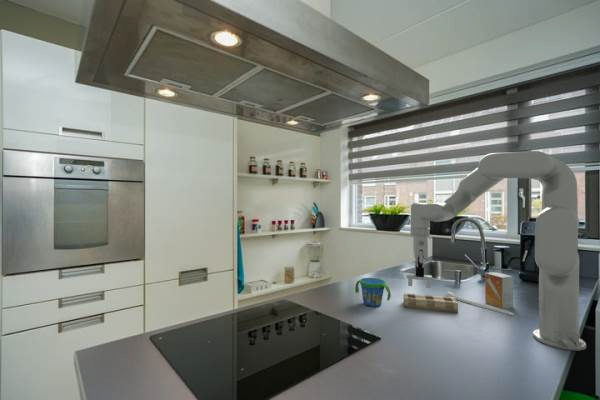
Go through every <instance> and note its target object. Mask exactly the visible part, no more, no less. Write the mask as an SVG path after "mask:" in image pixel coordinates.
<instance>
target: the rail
mask: <svg viewBox="0 0 600 400" xmlns="http://www.w3.org/2000/svg"><path fill="white" fill-rule="evenodd" d="M403 306H404V308H405V309H411V310H412V309H414V310H425V311H432V312H443V311H444V312H445V313H453V312H455V314H458V313H459V303H458V300H456V299H455V298H454V297H445V296H442V295H441V296H440V295H429V294H418V293H417V294H416V293H405V292H403Z"/></svg>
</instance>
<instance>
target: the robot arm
mask: <svg viewBox="0 0 600 400" xmlns="http://www.w3.org/2000/svg"><path fill="white" fill-rule="evenodd" d="M504 179H531V180H535V181H538V182H540V184H541V188H542V189H541V212H539V213H538V215H537V217H536V220H535V227H534V229H535V230H534V260H535V263H536V265H537V267H538V269H539V271H538V272H539V274H538V329H535V330H533V331H532V336H533V337H534V339H535V340H537V341H538V342H541V343H543V344H545V345H547V346H550V347H553V348H557V349H562V350H565V351H566V350H568V351H584V350H586V349H587V343H586V342H585V341H584V340H583V339H582V338H580V255H579V252H578V245H579V244H578V243H579V225H580V220H579V216H578V215H579V211H578V206H579V204H578V203H579V202H578V201H579V200H578V181H577V178H576V175H575V173H574V171H573V170H572V168H570V166H568V165H567V164H566V163H564V162H563V161H561V160H559V159H557V158H554V157H552V156H551V155H549V154H548V153H546V152H544V151H540V150H529V151H528V150H527V151H513V152H512V151H511V152H507V151H506V152H492V153H491V152H490V153H488V154H486V155H484V156H482V157H481V158H480V160H479V162H478V164H477V167H476V168H475V169H474V170H473V171H471V172H470V173H469V174H468V175H466V176H465V177H464V178H463V179H461V180H460V182H459V183H458V187H457V189H456V190H455V192H454V193H452V195H451V196H449V197H448V198H447V199H445V200H444V201H442V202H430V203H427V202H414V203H411V205H410V236H412V240H413V241H412V244H413V246H412V248H413V249H412V250H413V258H414V259H415V262H414V263H415V264H414V266H415V265H416V277H424V275H425V261H428V260H429V251H428V250H429V248H428V246H429V244H428V242H429V240H428V237H430V236H431V233H430V231H431V222H435V223H436V222H437V223H438V222H439V223H440V222H446V221H449V220H452V219H453V218H455V217H456V216H458V215H459V214H461V212H463V211H464V210H465V209H468V207H469V206H470V205H472V204H473V203H474V202H476V200H477V199H478V198H479V197H481V196H482V195H483V194H485V193H486V192H488V191H489V190H490V189H492V188H493V187H494V186H496V185H497V184H498V183H500V182H501V181H503V180H504Z"/></svg>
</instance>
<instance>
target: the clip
mask: <svg viewBox="0 0 600 400" xmlns="http://www.w3.org/2000/svg"><path fill="white" fill-rule="evenodd" d="M405 278H406V280H407V285H408V287H413V280H416V281H417V280H418V281H425V288H427V289H431V282H433V276H432V275H430V274H429V275H427V274H424V277H416V265H415V264H414V273H406V277H405Z"/></svg>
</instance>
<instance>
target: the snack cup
mask: <svg viewBox="0 0 600 400" xmlns="http://www.w3.org/2000/svg"><path fill="white" fill-rule="evenodd" d="M359 284H360V288H361V296H362V302H363V305H365V306H369V307H373V308H374V307H380V306H381V305H382V301H383V296H384V289H385V290H386V291H387V298H386V300H387V301H390V299H391V296H392V295H391V290H390V287H389V285H388V284H386V281H385V280H383V279H382V278H377V277H376V278H375V277H362V278H361V279H359V280H358V281H356V284H355V288H354V289H355V290H354V291H355V293H356V294H359V292H360V290H359V289H360V288H359Z"/></svg>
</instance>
